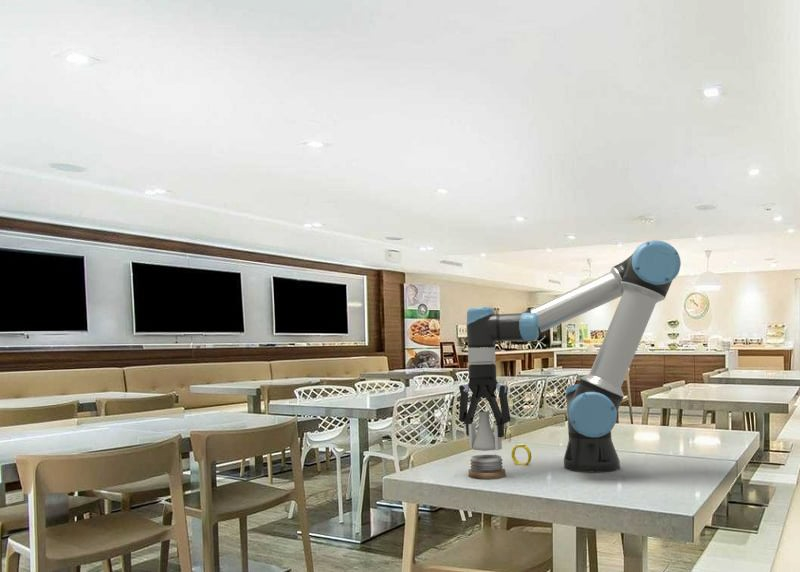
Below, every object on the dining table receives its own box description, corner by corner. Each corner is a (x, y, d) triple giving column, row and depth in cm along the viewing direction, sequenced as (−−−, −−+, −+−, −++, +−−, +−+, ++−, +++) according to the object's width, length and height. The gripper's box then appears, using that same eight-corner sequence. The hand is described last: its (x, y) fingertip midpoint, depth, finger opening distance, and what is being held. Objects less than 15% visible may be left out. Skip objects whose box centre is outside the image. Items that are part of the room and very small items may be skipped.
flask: (498, 451, 171) (496, 413, 172) (470, 451, 173) (469, 413, 174) (499, 447, 178) (498, 410, 180) (473, 447, 180) (472, 411, 181)
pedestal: (511, 473, 177) (510, 455, 177) (496, 480, 168) (495, 461, 169) (478, 471, 182) (477, 453, 182) (462, 477, 173) (461, 458, 174)
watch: (511, 465, 191) (508, 445, 192) (516, 464, 194) (513, 443, 194) (529, 465, 188) (526, 444, 189) (533, 464, 190) (531, 443, 191)
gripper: (521, 362, 176) (525, 448, 174) (456, 363, 187) (459, 444, 184) (510, 363, 170) (514, 452, 167) (443, 364, 180) (446, 448, 178)
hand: (485, 448), depth 176 cm, fingers closed on flask, 7 cm apart
